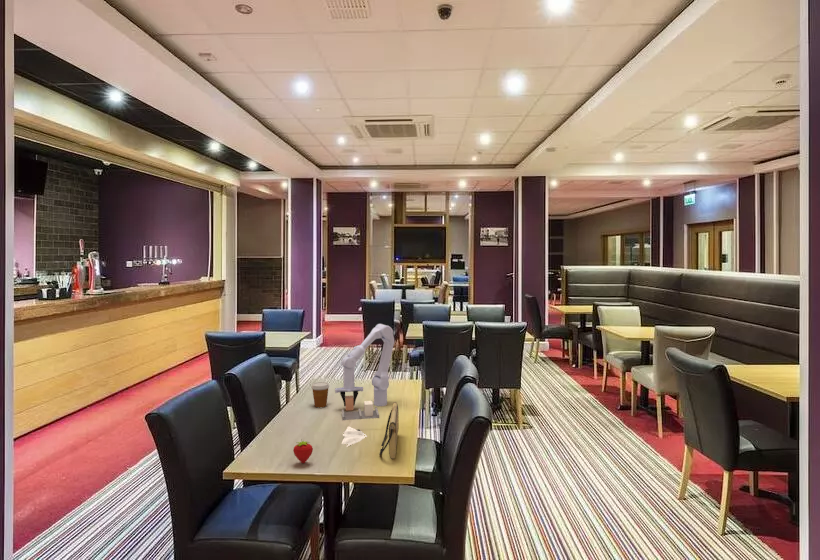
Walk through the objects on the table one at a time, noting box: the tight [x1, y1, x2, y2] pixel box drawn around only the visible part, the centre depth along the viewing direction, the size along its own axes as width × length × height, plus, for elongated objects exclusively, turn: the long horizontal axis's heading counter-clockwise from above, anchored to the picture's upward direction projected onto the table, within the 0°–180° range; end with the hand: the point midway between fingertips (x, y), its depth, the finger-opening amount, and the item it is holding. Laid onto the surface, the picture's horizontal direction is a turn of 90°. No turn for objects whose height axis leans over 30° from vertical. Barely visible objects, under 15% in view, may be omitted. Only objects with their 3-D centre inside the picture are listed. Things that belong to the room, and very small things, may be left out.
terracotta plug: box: [344, 394, 355, 412], centre depth 241 cm, size 6×4×6 cm, turn 10°
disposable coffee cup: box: [311, 381, 330, 409], centre depth 250 cm, size 10×10×12 cm
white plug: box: [363, 400, 374, 417], centre depth 233 cm, size 6×4×6 cm, turn 10°
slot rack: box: [341, 406, 380, 421], centre depth 232 cm, size 12×18×2 cm, turn 100°
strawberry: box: [293, 438, 314, 464], centre depth 179 cm, size 6×8×10 cm
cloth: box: [341, 425, 368, 448], centre depth 207 cm, size 26×14×2 cm, turn 170°
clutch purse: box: [379, 401, 400, 460], centre depth 194 cm, size 30×7×15 cm, turn 179°
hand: (349, 405), depth 241 cm, fingers closed on terracotta plug, 4 cm apart
